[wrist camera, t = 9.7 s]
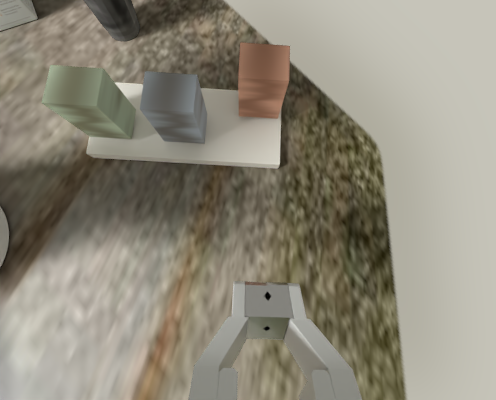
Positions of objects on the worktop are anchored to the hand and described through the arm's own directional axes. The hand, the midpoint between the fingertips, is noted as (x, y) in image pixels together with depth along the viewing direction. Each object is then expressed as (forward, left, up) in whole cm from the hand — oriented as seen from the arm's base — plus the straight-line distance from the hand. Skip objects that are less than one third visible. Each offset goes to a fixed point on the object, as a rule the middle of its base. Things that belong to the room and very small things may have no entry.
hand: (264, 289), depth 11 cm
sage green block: (-18, +16, -16) cm, 29 cm away
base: (-9, +17, -18) cm, 26 cm away
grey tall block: (-9, +16, -16) cm, 24 cm away
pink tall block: (0, +20, -16) cm, 25 cm away
